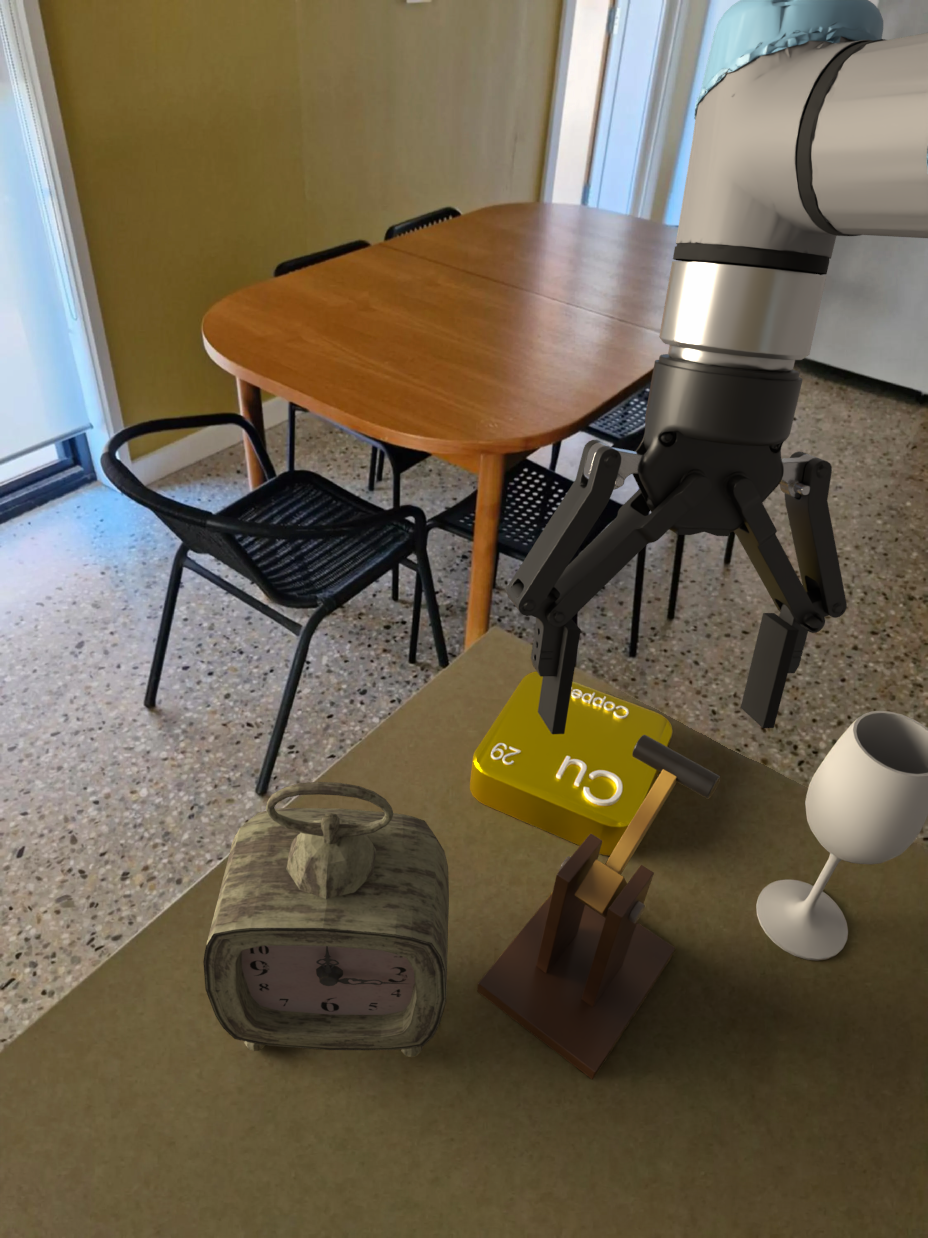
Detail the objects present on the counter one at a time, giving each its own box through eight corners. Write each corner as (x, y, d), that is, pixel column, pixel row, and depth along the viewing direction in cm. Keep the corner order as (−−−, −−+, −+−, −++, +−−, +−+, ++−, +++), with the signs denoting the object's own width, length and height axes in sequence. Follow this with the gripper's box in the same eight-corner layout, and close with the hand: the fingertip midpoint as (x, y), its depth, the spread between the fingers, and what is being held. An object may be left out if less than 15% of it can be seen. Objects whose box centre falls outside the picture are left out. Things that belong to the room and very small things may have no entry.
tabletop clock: (223, 1069, 60) (172, 842, 44) (249, 946, 67) (213, 712, 51) (437, 1078, 60) (462, 856, 45) (441, 955, 67) (463, 725, 52)
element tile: (668, 750, 86) (679, 714, 83) (620, 865, 75) (631, 830, 72) (526, 695, 90) (531, 660, 87) (461, 797, 79) (464, 761, 76)
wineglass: (837, 981, 68) (951, 806, 55) (741, 930, 71) (827, 752, 58) (858, 908, 73) (967, 732, 60) (768, 864, 76) (853, 686, 63)
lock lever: (645, 740, 65) (643, 729, 63) (720, 781, 62) (721, 772, 60) (555, 885, 62) (550, 879, 60) (630, 935, 60) (627, 930, 57)
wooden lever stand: (563, 884, 73) (588, 782, 65) (672, 956, 69) (713, 856, 61) (476, 991, 65) (492, 891, 57) (592, 1080, 61) (626, 985, 53)
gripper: (887, 366, 52) (802, 689, 60) (479, 330, 46) (443, 695, 54) (983, 384, 46) (873, 745, 53) (520, 345, 39) (472, 759, 47)
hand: (656, 720), depth 54 cm, fingers open, 13 cm apart
